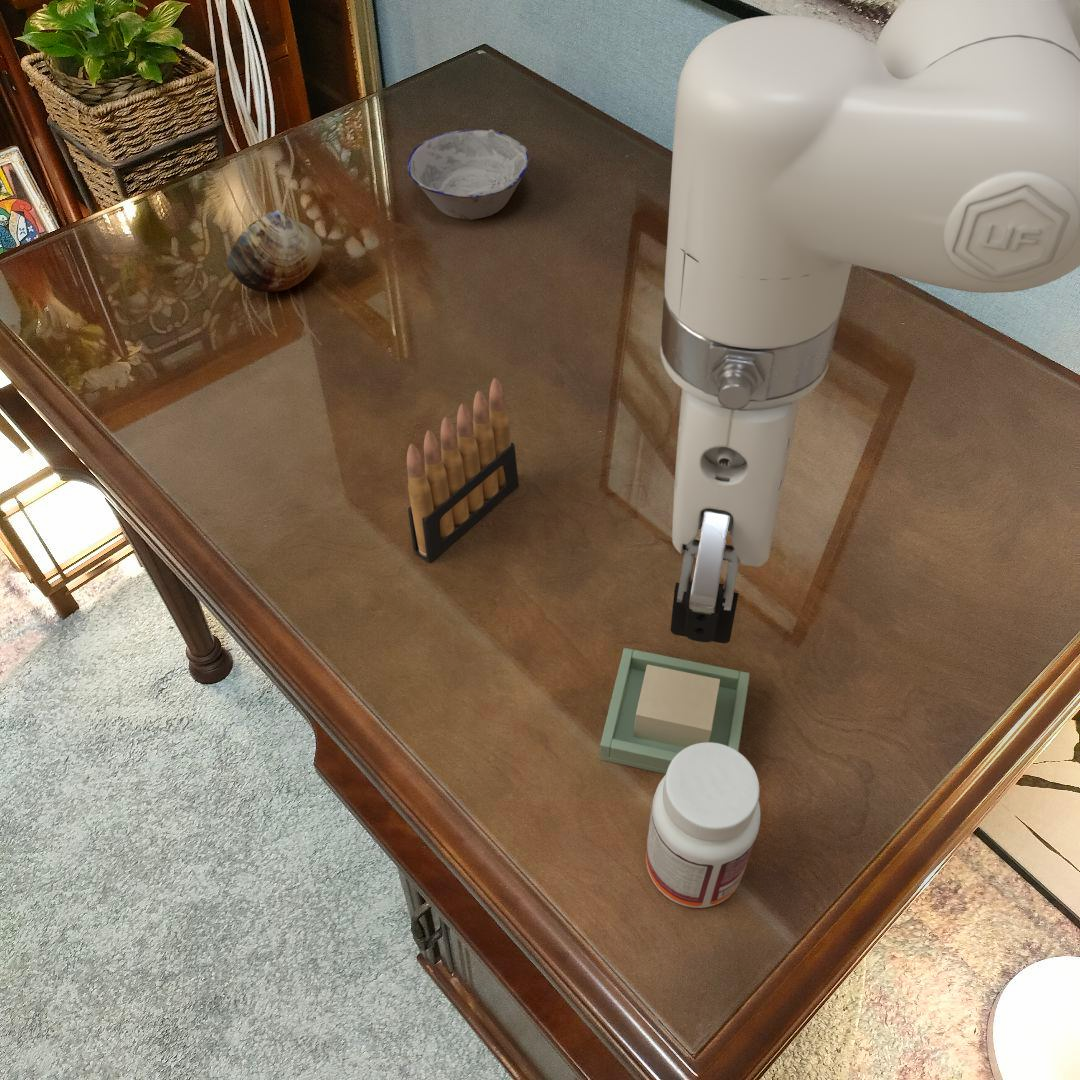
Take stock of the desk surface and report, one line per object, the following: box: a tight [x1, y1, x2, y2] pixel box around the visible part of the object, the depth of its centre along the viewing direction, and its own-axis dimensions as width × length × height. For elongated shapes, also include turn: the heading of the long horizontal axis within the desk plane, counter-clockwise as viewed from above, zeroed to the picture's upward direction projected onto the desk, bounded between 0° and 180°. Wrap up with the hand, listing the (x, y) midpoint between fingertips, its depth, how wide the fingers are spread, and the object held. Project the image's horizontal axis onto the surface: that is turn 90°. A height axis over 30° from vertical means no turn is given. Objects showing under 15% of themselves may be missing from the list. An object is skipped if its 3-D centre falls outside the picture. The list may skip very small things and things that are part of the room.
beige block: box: [634, 665, 720, 748], centre depth 69 cm, size 5×4×3 cm
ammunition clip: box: [406, 376, 520, 563], centre depth 78 cm, size 11×2×12 cm, turn 140°
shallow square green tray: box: [599, 647, 751, 775], centre depth 70 cm, size 9×8×2 cm
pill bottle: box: [645, 742, 761, 909], centre depth 60 cm, size 6×6×11 cm
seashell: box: [226, 209, 323, 293], centre depth 99 cm, size 10×6×8 cm, turn 125°
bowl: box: [406, 128, 530, 220], centre depth 110 cm, size 13×13×5 cm
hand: (712, 565), depth 58 cm, fingers open, 9 cm apart
